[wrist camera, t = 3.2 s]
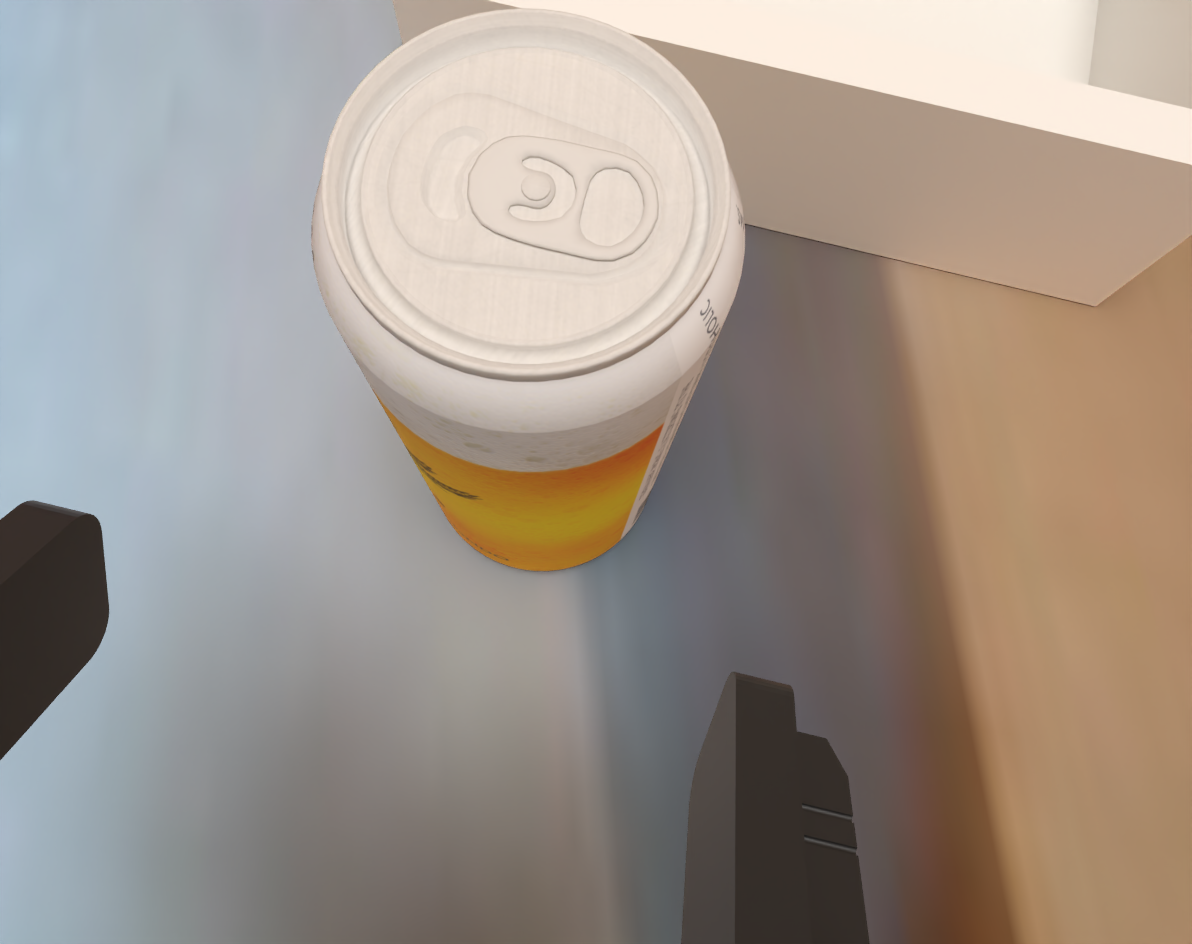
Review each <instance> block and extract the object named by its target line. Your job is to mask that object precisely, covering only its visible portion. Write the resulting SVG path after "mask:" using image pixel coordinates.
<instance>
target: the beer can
mask: <svg viewBox="0 0 1192 944" xmlns="http://www.w3.org/2000/svg"><path fill="white" fill-rule="evenodd" d="M311 246H312V254H313V262H314V269H315V273H316V277H317V281H318V285H319V289H320V292H321V295H322V297H323V300H324V302H325V305H326V307H327V310H328V312H329V314H330V316H331V318H332V320H333V322H334V323H335V325H336V327H337V329H338V331H339V332H340V334H341V336H342V338H343V339H344V341H345V343H346V345H347V346H348V348H349V350H350V351H351V353H352V355H353V357H354V358H355V360H356V362H357V364H358V365H359V367H360V369H361V371H362V372H363V374H364V376H365V377H366V379H367V381H368V383H369V384H370V386H371V388H372V390H373V391H374V393H375V395H376V396H377V398H378V400H379V402H380V403H381V405H382V407H383V409H384V410H385V412H386V414H387V415H388V417H389V419H390V421H391V422H392V424H393V426H394V428H395V429H396V431H397V433H398V434H399V436H400V438H401V440H402V441H403V443H404V445H405V447H406V448H407V450H408V452H409V453H410V455H411V457H412V459H413V460H414V462H415V464H416V466H417V467H418V469H419V471H420V472H421V474H422V476H423V478H424V479H425V481H426V483H427V485H428V486H429V488H430V490H431V491H432V493H433V495H434V497H435V498H436V500H437V502H438V504H439V505H440V507H441V509H442V511H443V512H444V514H445V516H446V517H447V519H448V521H449V522H450V524H451V525H452V526H453V528H454V529H455V530H456V532H457V533H458V534H459V535H460V536H461V537H462V538H463V539H464V540H465V541H466V542H467V543H468V544H470V545H471V546H472V547H473V548H474V549H476V550H477V551H479V552H480V553H482V554H483V555H485V556H487V557H489V558H490V559H492V560H494V561H496V562H499V563H502V564H504V565H507V566H510V567H514V568H519V569H523V570H532V571H553V570H562V569H566V568H570V567H575V566H577V565H580V564H583V563H586V562H588V561H590V560H592V559H594V558H596V557H598V556H600V555H601V554H603V553H605V552H606V551H608V550H609V549H610V548H612V547H613V546H614V545H615V544H616V543H618V542H619V541H620V540H621V539H622V538H623V537H624V536H625V535H626V534H627V533H628V532H629V530H630V529H631V527H632V526H633V525H634V523H635V522H636V521H637V519H638V517H639V515H640V514H641V512H642V510H643V508H644V506H645V503H646V501H647V499H648V496H649V494H650V492H651V489H652V487H653V485H654V483H655V480H656V478H657V476H658V473H659V471H660V469H661V466H662V464H663V462H664V460H665V457H666V455H667V453H668V450H669V448H670V446H671V443H672V441H673V439H674V437H675V434H676V432H677V430H678V427H679V425H680V423H681V420H682V418H683V416H684V414H685V411H686V409H687V407H688V404H689V402H690V400H691V397H692V395H693V393H694V391H695V388H696V386H697V384H698V381H699V379H700V377H701V374H702V372H703V370H704V368H705V365H706V363H707V361H708V358H709V356H710V354H711V351H712V349H713V347H714V345H715V342H716V340H717V338H718V335H719V333H720V331H721V328H722V326H723V324H724V322H725V319H726V317H727V315H728V312H729V310H730V307H731V305H732V303H733V300H734V298H735V295H736V292H737V288H738V285H739V281H740V277H741V273H742V267H743V260H744V253H745V224H744V215H743V206H742V202H741V198H740V194H739V189H738V185H737V182H736V180H735V177H734V174H733V172H732V169H731V166H730V164H729V162H728V160H727V156H726V152H725V148H724V144H723V141H722V138H721V136H720V133H719V130H718V128H717V125H716V123H715V121H714V119H713V117H712V115H711V113H710V111H709V110H708V108H707V106H706V104H705V103H704V101H703V100H702V98H701V97H700V95H699V94H698V93H697V91H696V90H695V88H694V87H693V86H692V85H691V84H690V82H689V81H688V80H687V79H686V78H685V77H684V75H683V74H682V73H681V72H680V71H679V70H678V69H677V68H676V67H675V66H673V65H672V64H671V63H670V62H669V61H668V60H667V59H666V58H665V57H664V56H662V55H661V54H659V53H658V52H657V51H655V50H654V49H653V48H651V47H650V46H649V45H647V44H646V43H644V42H642V41H641V40H639V39H637V38H635V37H634V36H632V35H630V34H629V33H627V32H624V31H622V30H620V29H618V28H616V27H613V26H611V25H609V24H606V23H603V22H601V21H598V20H595V19H592V18H589V17H585V16H581V15H577V14H572V13H568V12H562V11H555V10H547V9H526V8H517V9H503V10H494V11H488V12H482V13H477V14H472V15H469V16H465V17H462V18H458V19H454V20H451V21H449V22H446V23H444V24H441V25H439V26H436V27H434V28H431V29H429V30H428V31H426V32H424V33H422V34H420V35H418V36H416V37H414V38H412V39H411V40H409V41H408V42H406V43H405V44H403V45H402V46H400V47H399V48H397V49H396V50H394V51H393V52H392V53H391V54H389V55H388V56H387V57H386V58H385V59H383V60H382V61H381V62H380V63H379V64H377V65H376V67H375V68H374V69H373V70H372V71H371V72H370V73H369V74H368V75H367V76H366V77H365V78H364V79H363V80H362V81H361V83H360V84H359V85H358V87H357V88H356V89H355V91H354V92H353V94H352V95H351V96H350V98H349V99H348V101H347V103H346V104H345V106H344V108H343V110H342V111H341V113H340V115H339V117H338V119H337V121H336V124H335V126H334V129H333V131H332V133H331V136H330V139H329V143H328V146H327V150H326V154H325V158H324V165H323V172H322V176H321V179H320V182H319V186H318V190H317V193H316V197H315V202H314V209H313V216H312V237H311Z"/></svg>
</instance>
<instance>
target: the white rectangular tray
mask: <svg viewBox="0 0 1192 944" xmlns="http://www.w3.org/2000/svg"><path fill="white" fill-rule="evenodd" d="M392 1H393V5H394V9H395V14H396V18H397V22H398V27H399V31H400V35H401V39H402V44H405V43H406V42H408V41H409V40H411V39H412V38H414V37H416V36H418V35H420V34H422V33H424V32H426V31H428V30H429V29H431V28H434V27H436V26H439V25H441V24H444V23H446V22H449V21H451V20H454V19H458V18H462V17H465V16H469V15H472V14H477V13H482V12H488V11H494V10H503V9H517V8H526V9H547V10H555V11H562V12H568V13H572V14H577V15H581V16H585V17H589V18H592V19H595V20H598V21H601V22H603V23H606V24H609V25H611V26H613V27H616V28H618V29H620V30H622V31H624V32H627V33H629V34H630V35H632V36H634V37H635V38H637V39H639V40H641V41H642V42H644V43H646V44H647V45H649V46H650V47H651V48H653V49H654V50H655V51H657V52H658V53H659V54H661V55H662V56H664V57H665V58H666V59H667V60H668V61H669V62H670V63H671V64H672V65H673V66H675V67H676V68H677V69H678V70H679V71H680V72H681V73H682V74H683V75H684V77H685V78H686V79H687V80H688V81H689V82H690V84H691V85H692V86H693V87H694V88H695V90H696V91H697V93H698V94H699V95H700V97H701V98H702V100H703V101H704V103H705V104H706V106H707V108H708V110H709V111H710V113H711V115H712V117H713V119H714V121H715V123H716V125H717V128H718V130H719V133H720V136H721V138H722V141H723V144H724V148H725V152H726V156H727V160H728V162H729V164H730V166H731V169H732V172H733V174H734V177H735V180H736V182H737V185H738V189H739V194H740V198H741V202H742V206H743V215H744V224H749V225H753V226H757V227H761V228H766V229H770V230H774V231H778V232H782V233H787V234H791V235H795V236H799V237H804V238H808V239H812V240H816V241H820V242H825V243H829V244H833V245H837V246H842V247H846V248H850V249H854V250H858V251H863V252H867V253H871V254H875V255H880V256H884V257H888V258H892V259H896V260H901V261H905V262H909V263H913V264H918V265H922V266H926V267H930V268H934V269H939V270H943V271H947V272H951V273H956V274H960V275H964V276H968V277H972V278H977V279H981V280H985V281H989V282H994V283H998V284H1002V285H1006V286H1010V287H1015V288H1019V289H1023V290H1027V291H1032V292H1036V293H1040V294H1044V295H1048V296H1053V297H1057V298H1061V299H1065V300H1070V301H1074V302H1078V303H1082V304H1086V305H1091V306H1097V305H1098V304H1099V303H1101V302H1102V301H1103V300H1105V299H1106V298H1108V297H1109V296H1110V295H1112V294H1113V293H1114V292H1116V291H1117V290H1118V289H1120V288H1121V287H1122V286H1124V285H1125V284H1126V283H1128V282H1129V281H1130V280H1132V279H1133V278H1134V277H1136V276H1137V275H1138V274H1140V273H1141V272H1142V271H1144V270H1145V269H1146V268H1148V267H1149V266H1150V265H1152V264H1153V263H1154V262H1156V261H1157V260H1159V259H1160V258H1161V257H1163V256H1164V255H1165V254H1167V253H1168V252H1169V251H1171V250H1172V249H1173V248H1175V247H1176V246H1177V245H1179V244H1180V243H1181V242H1183V241H1184V240H1185V239H1187V238H1188V237H1189V236H1191V235H1192V0H392Z"/></svg>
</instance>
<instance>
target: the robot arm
mask: <svg viewBox="0 0 1192 944" xmlns="http://www.w3.org/2000/svg"><path fill="white" fill-rule="evenodd" d="M108 618H109V603H108V592H107V582H106V571H105V560H104V550H103V539H102V530H101V525H100V522H99V521H98V519H97V518H96V517H95V516H94V515H91V514H88V513H84V512H80V511H75V510H71V509H67V508H63V507H59V506H55V505H51V504H46V503H42V502H38V501H26V502H24V503H22V504H20V505H19V506H17V507H16V508H15V509H13V510H12V511H11V512H10V513H8V514H7V515H6V516H5V517H3V518H2V519H1V520H0V760H1V759H2V758H3V757H4V756H5V754H6V753H7V752H8V751H9V750H10V749H11V748H12V747H13V745H14V744H15V743H16V742H17V741H18V740H19V739H20V738H21V737H22V735H23V734H24V733H25V732H26V731H27V730H28V729H29V728H30V726H31V725H32V724H33V723H34V722H35V721H36V720H37V719H38V717H39V716H40V715H41V714H42V713H43V712H44V711H45V710H46V709H47V707H48V706H49V705H50V704H51V703H52V702H53V701H54V700H55V698H56V697H57V696H58V695H59V694H60V693H61V692H62V691H63V689H64V688H65V687H66V686H67V685H68V684H69V683H70V682H71V680H72V679H73V678H74V677H75V676H76V675H77V674H78V673H79V672H80V670H81V669H82V668H83V667H84V666H85V665H86V664H87V663H88V661H89V660H90V659H91V658H92V657H93V655H94V654H95V652H96V651H97V649H98V647H99V645H100V643H101V641H102V639H103V636H104V634H105V631H106V627H107V623H108ZM852 816H853V813H852V805H851V797H850V789H849V782H848V776H847V774H846V772H845V771H844V769H843V767H842V765H841V763H840V762H839V760H838V758H837V756H836V755H835V753H834V751H833V749H832V748H831V746H830V744H829V742H828V740H827V739H826V738H822V737H817V736H813V735H809V734H805V733H801V732H797V730H796V716H795V703H794V692H793V689H792V687H791V686H790V685H786V684H782V683H778V682H774V681H769V680H765V679H761V678H757V677H753V676H749V675H745V674H740V673H736V672H731V673H730V675H729V677H728V679H727V681H726V683H725V686H724V689H723V691H722V694H721V697H720V700H719V702H718V705H717V708H716V711H715V713H714V716H713V719H712V722H711V724H710V727H709V730H708V733H707V735H706V738H705V741H704V744H703V746H702V749H701V752H700V755H699V758H698V761H697V765H696V768H695V773H694V777H693V782H692V788H691V794H690V802H689V816H688V833H687V851H686V868H685V886H684V904H683V921H682V939H681V944H869V936H868V929H867V921H866V913H865V905H864V898H863V890H862V882H861V874H860V867H859V859H858V856H856V849H857V843H856V836H855V828H854V823H852Z"/></svg>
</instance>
